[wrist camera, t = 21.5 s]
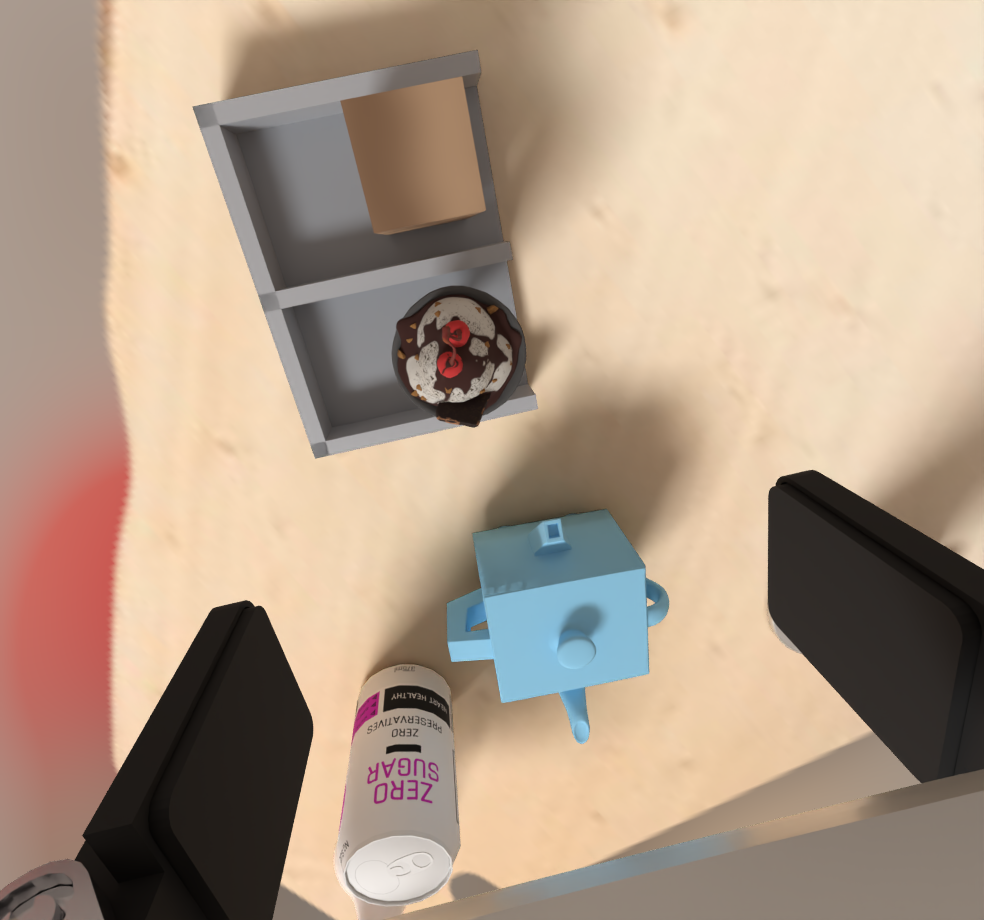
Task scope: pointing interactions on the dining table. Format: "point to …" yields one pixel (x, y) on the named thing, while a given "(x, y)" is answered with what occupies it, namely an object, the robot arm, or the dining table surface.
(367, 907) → the flower vase
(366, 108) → the walnut block
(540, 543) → the teapot
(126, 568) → the dining table surface
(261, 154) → the grey divided tray
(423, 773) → the soda can
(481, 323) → the sundae
